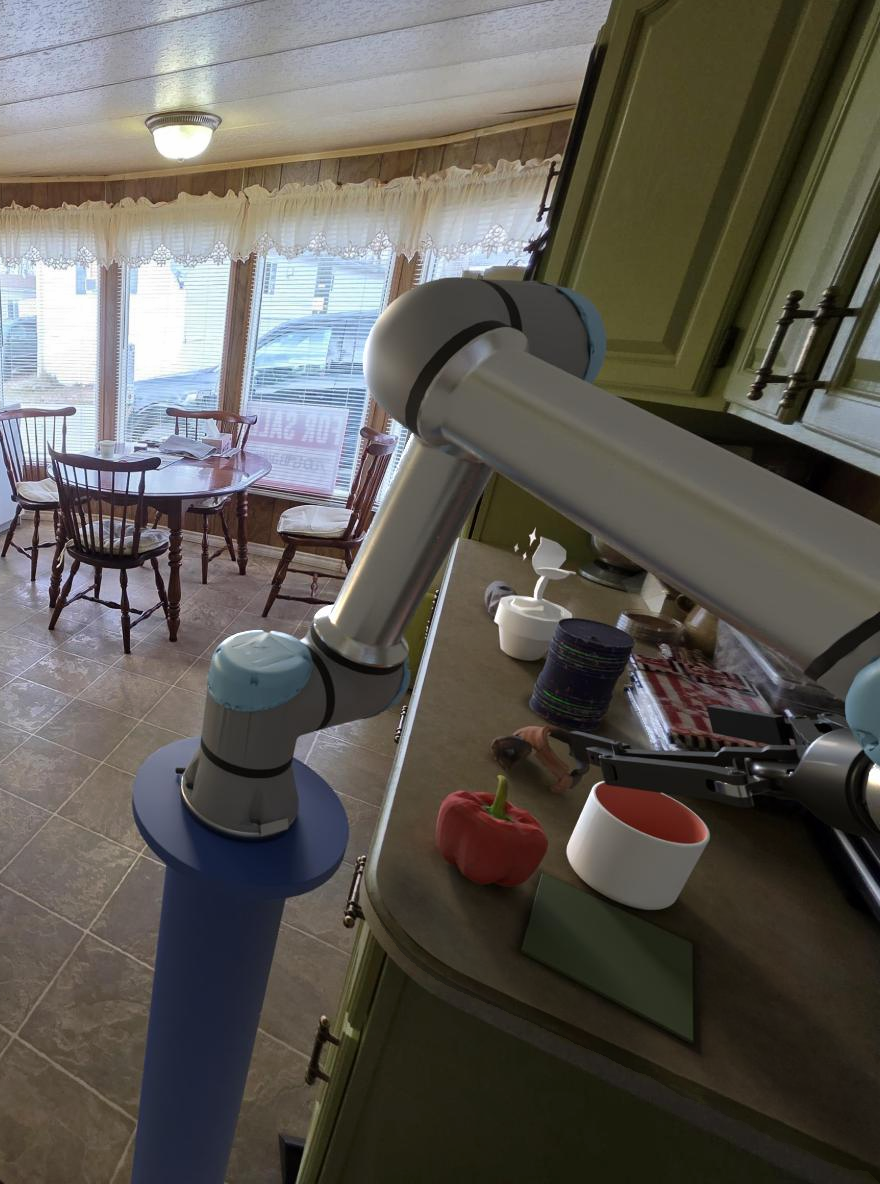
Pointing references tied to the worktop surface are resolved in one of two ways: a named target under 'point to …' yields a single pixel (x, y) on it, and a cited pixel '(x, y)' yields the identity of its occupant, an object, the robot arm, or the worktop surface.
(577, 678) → the storage jar
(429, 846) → the worktop surface
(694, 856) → the cup
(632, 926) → the coaster
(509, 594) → the perforated stone tool
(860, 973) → the worktop surface
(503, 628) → the white lidded tub
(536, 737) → the headlamp
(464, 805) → the vegetable
